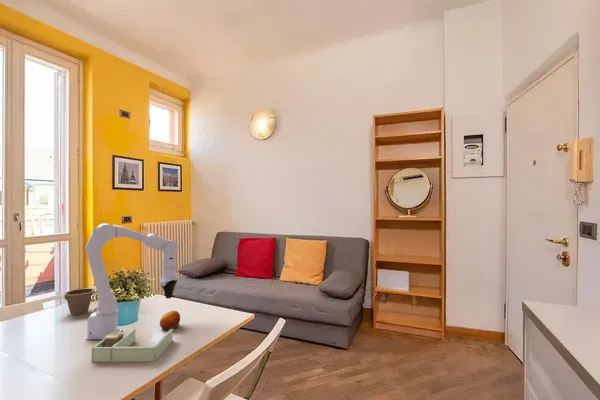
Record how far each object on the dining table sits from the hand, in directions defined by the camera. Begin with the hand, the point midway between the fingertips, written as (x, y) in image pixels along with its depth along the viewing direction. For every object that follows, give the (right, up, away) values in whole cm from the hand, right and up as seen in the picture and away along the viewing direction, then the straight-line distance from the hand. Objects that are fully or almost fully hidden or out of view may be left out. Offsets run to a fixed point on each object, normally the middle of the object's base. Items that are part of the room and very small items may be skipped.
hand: (168, 297), depth 129 cm
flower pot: (-46, -10, +9) cm, 48 cm away
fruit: (+3, -11, -6) cm, 13 cm away
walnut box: (-7, -10, -27) cm, 29 cm away
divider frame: (-1, -10, -25) cm, 27 cm away
